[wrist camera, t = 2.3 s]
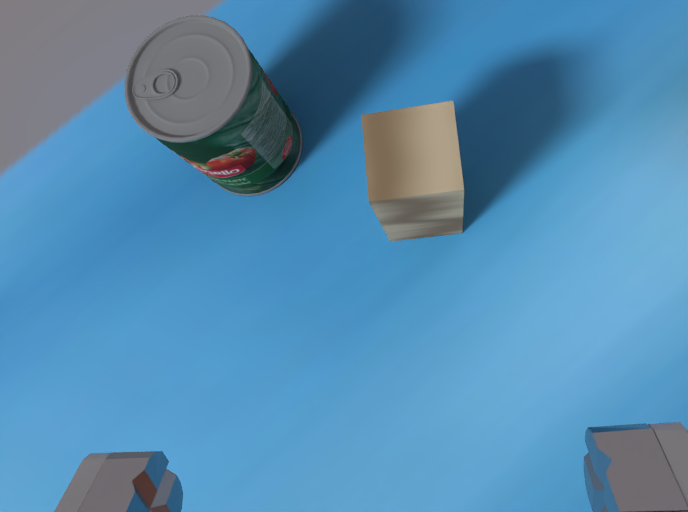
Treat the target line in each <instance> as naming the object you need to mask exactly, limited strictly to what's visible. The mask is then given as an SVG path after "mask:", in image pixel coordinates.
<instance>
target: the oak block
mask: <svg viewBox="0 0 688 512" xmlns="http://www.w3.org/2000/svg"><path fill="white" fill-rule="evenodd" d="M362 127H363V138H364V150H365V162H366V174H367V185H368V197H369V203H370V205H371V207H372V208H373V210H374V212H375V214H376V216H377V218H378V220H379V221H380V223H381V225H382V227H383V229H384V231H385V232H386V234H387V236H388V238H389V240H390V241H398V240H407V239H416V238H424V237H433V236H442V235H451V234H459V233H462V232H463V208H464V184H463V175H462V167H461V159H460V151H459V143H458V134H457V126H456V118H455V110H454V102H453V101H448V102H442V103H435V104H429V105H423V106H416V107H410V108H403V109H397V110H390V111H384V112H378V113H371V114H365V115H362Z"/></svg>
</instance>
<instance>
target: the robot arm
mask: <svg viewBox="0 0 688 512" xmlns="http://www.w3.org/2000/svg"><path fill="white" fill-rule="evenodd" d="M585 443H586V446H587V449H588V452H589V453H588V454H587V455H585V456H584V477H585V485H586V490H587V494H588V498H589V502H590V505H591V509H592V511H593V512H688V431H687V429H686V427H684V426H683V425H682V424H681V423H679V422H674V423H658V424H646V423H645V424H630V425H615V426H601V427H588V428H587V430H586V434H585ZM168 462H169V461H168V459H167V458H166V456H165V455H164V453H163V452H162V451H153V452H117V453H115V452H114V453H92V454H89V455H88V456H87V457H86V458H85V459H83V461H82V462H81V464H80V466H79V468H78V469H77V471H76V473H75V475H74V477H73V479H72V480H71V482H70V484H69V486H68V488H67V489H66V491H65V493H64V495H63V497H62V498H61V500H60V502H59V504H58V506H57V508H56V509H55V511H54V512H181V509H182V500H183V491H182V486H181V482H180V480H179V479H178V477H177V475H176V474H174V473H172V472H171V471H169V470H167V469H166V467H167V465H168Z"/></svg>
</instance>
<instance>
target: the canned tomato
mask: <svg viewBox="0 0 688 512" xmlns="http://www.w3.org/2000/svg"><path fill="white" fill-rule="evenodd" d="M125 99H126V103H127V107H128V109H129V111H130V114H131V116H132V117H133V119H134V120H135V121H136V123H137V124H138V125H139V126H140V127H141V128H142V129H143V130H144V131H146V132H147V133H148V134H150V135H152V136H154V137H155V138H157V139H158V140H159V141H160V142H161V143H163V144H164V145H166V146H167V147H168V148H169V149H171V150H172V151H174V152H175V153H176V154H178V155H179V156H180V157H181V158H183V159H184V160H186V161H187V162H188V163H190V164H191V165H192V166H194V167H195V168H196V169H198V170H199V171H201V172H202V173H203V174H205V175H206V176H207V177H208V178H210V179H211V180H212V181H214V182H215V183H216V184H218V185H219V186H220V187H221V188H223V189H224V190H226V191H228V192H230V193H233V194H236V195H240V196H255V195H261V194H264V193H267V192H270V191H272V190H273V189H275V188H277V187H279V186H280V185H281V184H282V183H283V182H285V181H286V180H287V179H288V177H289V176H290V175H291V174H292V173H293V171H294V169H295V168H296V166H297V164H298V162H299V159H300V156H301V152H302V144H303V143H302V133H301V129H300V126H299V123H298V122H297V120H296V118H295V116H294V115H293V114H292V113H291V112H290V110H289V108H288V106H287V105H286V104H285V102H284V101H283V100H282V98H281V96H280V95H279V93H278V92H277V90H276V89H275V87H274V86H273V84H272V83H271V81H270V80H269V78H268V77H267V75H266V74H265V72H264V71H263V69H262V68H261V66H260V65H259V64H258V62H257V60H256V59H255V58H254V56H253V54H252V53H251V52H250V50H249V49H248V47H247V46H246V44H245V42H244V40H243V38H242V37H241V36H240V35H239V34H238V33H237V31H236V30H235V29H234V28H232V27H231V26H229V25H228V24H227V23H225V22H223V21H221V20H218V19H216V18H213V17H207V16H187V17H183V18H178V19H176V20H173V21H171V22H168V23H166V24H164V25H163V26H161V27H159V28H158V29H156V30H155V31H154V32H153V33H151V34H150V35H149V36H148V37H147V38H146V39H145V40H144V41H143V42H142V43H141V45H140V46H139V47H138V49H137V50H136V52H135V54H134V55H133V57H132V59H131V61H130V64H129V66H128V69H127V73H126V78H125Z"/></svg>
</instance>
